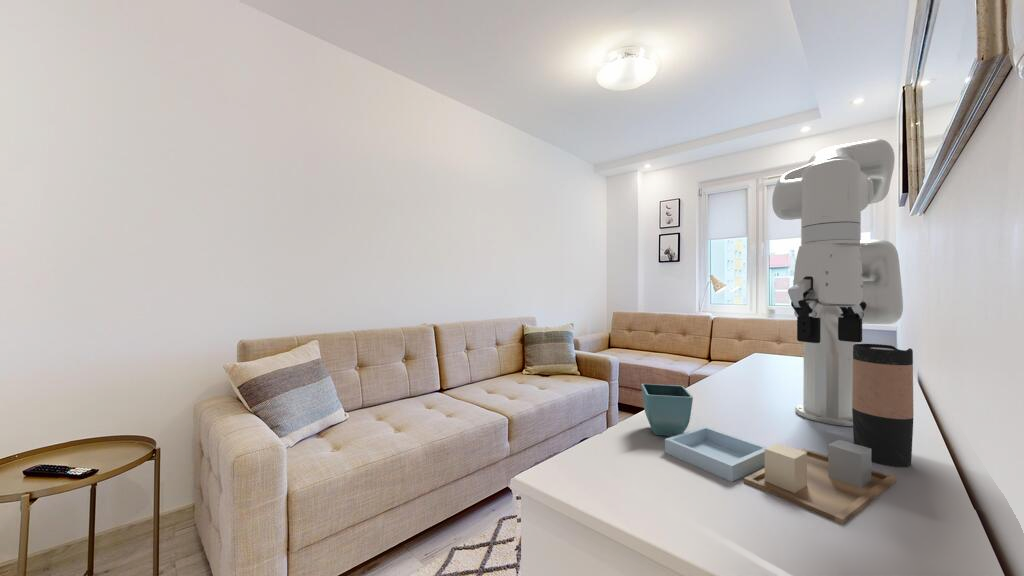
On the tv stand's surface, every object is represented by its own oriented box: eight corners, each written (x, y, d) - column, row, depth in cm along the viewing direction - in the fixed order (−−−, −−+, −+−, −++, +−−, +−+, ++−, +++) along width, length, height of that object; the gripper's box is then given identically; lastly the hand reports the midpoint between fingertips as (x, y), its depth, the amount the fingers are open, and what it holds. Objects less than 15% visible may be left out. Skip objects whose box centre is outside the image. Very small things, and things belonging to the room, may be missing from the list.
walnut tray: (803, 455, 68) (803, 448, 68) (895, 485, 58) (895, 477, 58) (743, 485, 58) (744, 478, 58) (842, 528, 48) (842, 519, 48)
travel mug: (851, 461, 66) (851, 347, 66) (852, 447, 71) (852, 342, 71) (915, 476, 61) (916, 352, 60) (911, 460, 66) (911, 346, 66)
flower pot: (693, 442, 74) (693, 396, 74) (646, 439, 76) (646, 394, 76) (683, 426, 83) (683, 385, 83) (640, 423, 84) (640, 383, 84)
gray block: (838, 470, 62) (838, 439, 62) (871, 480, 58) (871, 448, 58) (828, 476, 60) (828, 444, 60) (861, 488, 56) (861, 454, 56)
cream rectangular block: (777, 474, 60) (777, 443, 60) (807, 485, 57) (807, 452, 57) (764, 480, 58) (764, 448, 58) (794, 493, 55) (794, 458, 55)
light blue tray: (704, 441, 75) (704, 426, 75) (771, 466, 64) (771, 448, 64) (664, 455, 68) (664, 439, 68) (731, 485, 58) (731, 466, 58)
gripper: (839, 244, 68) (839, 338, 68) (769, 237, 63) (768, 339, 63) (892, 238, 61) (892, 344, 61) (817, 229, 56) (817, 345, 55)
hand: (829, 341), depth 62 cm, fingers open, 9 cm apart
